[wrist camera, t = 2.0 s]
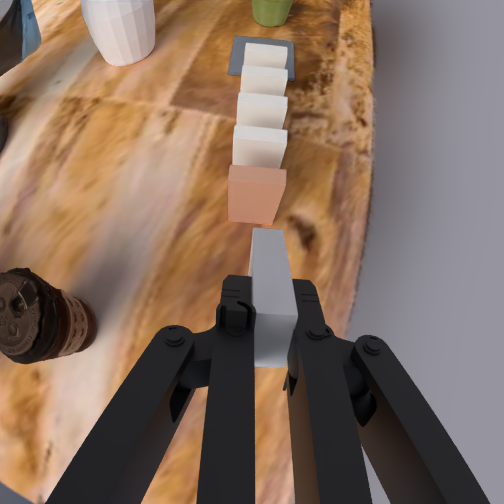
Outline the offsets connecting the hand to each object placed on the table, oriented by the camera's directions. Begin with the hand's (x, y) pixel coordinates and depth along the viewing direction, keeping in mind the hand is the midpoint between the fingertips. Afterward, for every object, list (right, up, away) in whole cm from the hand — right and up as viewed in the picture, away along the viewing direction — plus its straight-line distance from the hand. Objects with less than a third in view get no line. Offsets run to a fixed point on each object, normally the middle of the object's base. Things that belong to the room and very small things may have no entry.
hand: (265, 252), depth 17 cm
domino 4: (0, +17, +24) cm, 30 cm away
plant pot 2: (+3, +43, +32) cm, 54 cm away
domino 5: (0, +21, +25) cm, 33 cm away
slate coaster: (+1, +31, +28) cm, 42 cm away
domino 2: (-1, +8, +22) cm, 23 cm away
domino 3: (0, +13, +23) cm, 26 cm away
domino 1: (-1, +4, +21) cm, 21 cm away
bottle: (-22, +34, +28) cm, 49 cm away
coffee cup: (-21, -8, +16) cm, 28 cm away
